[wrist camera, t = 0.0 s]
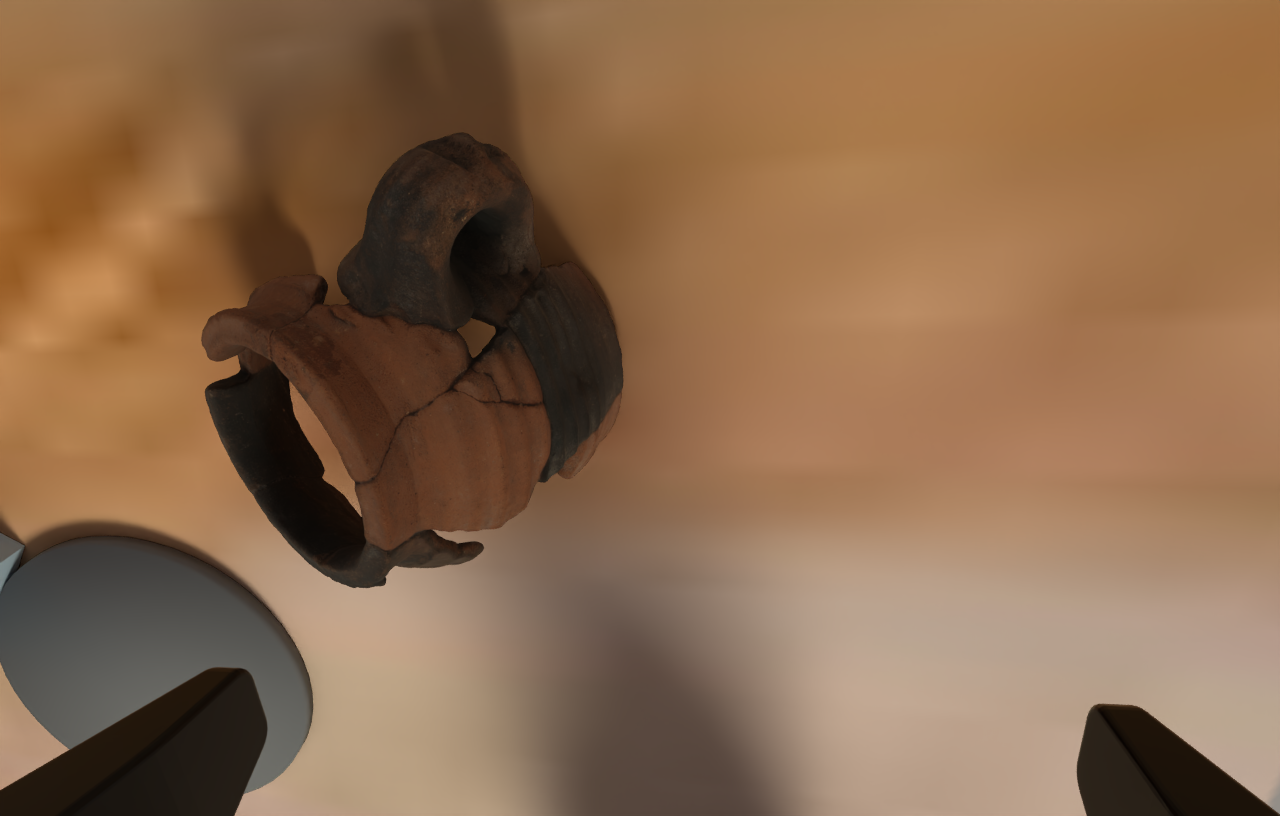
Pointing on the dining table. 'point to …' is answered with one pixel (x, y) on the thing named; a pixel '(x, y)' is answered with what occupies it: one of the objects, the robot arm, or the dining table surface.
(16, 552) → the painted block
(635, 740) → the dining table surface
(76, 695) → the rubber mat
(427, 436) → the pottery mug
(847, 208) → the dining table surface
